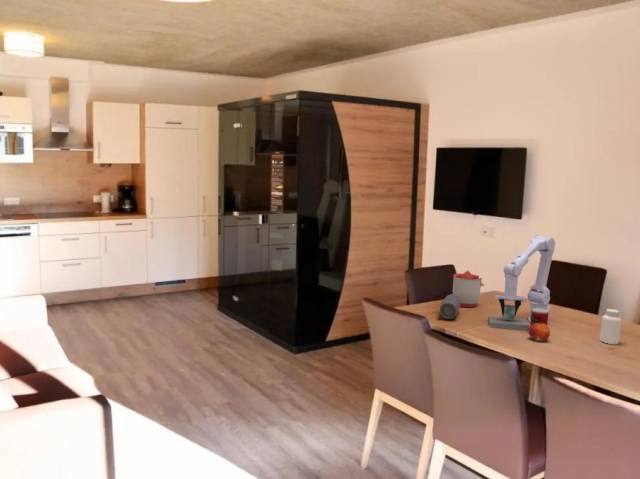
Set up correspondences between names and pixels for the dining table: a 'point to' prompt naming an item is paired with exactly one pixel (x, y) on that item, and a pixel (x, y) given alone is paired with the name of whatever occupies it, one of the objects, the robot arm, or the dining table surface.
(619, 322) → the pill bottle
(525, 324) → the base board
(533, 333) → the tomato
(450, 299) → the bluetooth speaker
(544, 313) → the canned food
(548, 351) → the dining table surface
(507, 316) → the teal block
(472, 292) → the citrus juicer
